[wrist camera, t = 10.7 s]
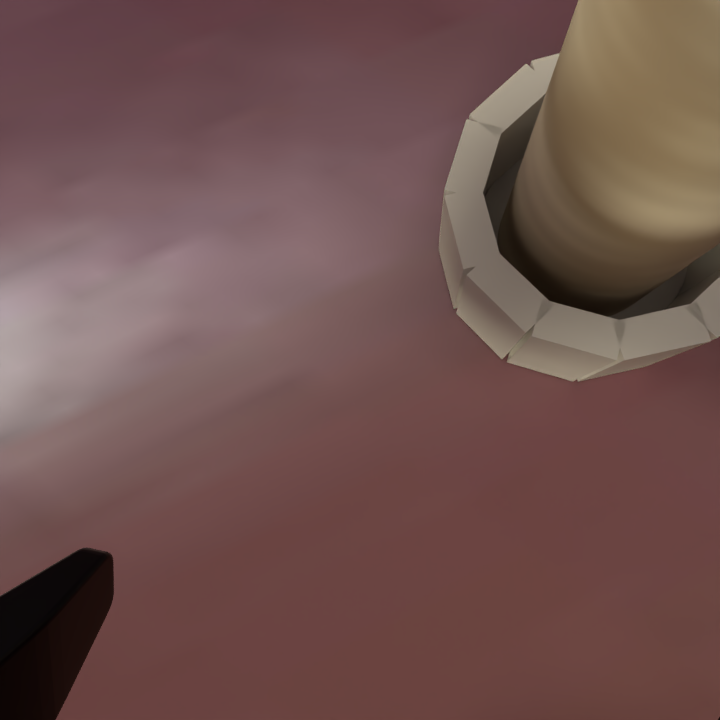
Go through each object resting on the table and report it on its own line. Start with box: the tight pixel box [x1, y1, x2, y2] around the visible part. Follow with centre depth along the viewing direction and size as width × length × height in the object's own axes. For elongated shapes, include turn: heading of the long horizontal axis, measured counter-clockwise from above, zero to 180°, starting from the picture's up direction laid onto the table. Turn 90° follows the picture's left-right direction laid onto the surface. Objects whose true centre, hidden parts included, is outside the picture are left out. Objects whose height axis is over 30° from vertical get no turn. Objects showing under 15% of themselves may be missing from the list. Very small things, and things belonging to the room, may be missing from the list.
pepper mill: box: [497, 0, 720, 317], centre depth 10 cm, size 5×5×16 cm
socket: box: [439, 53, 720, 381], centre depth 16 cm, size 8×8×4 cm
